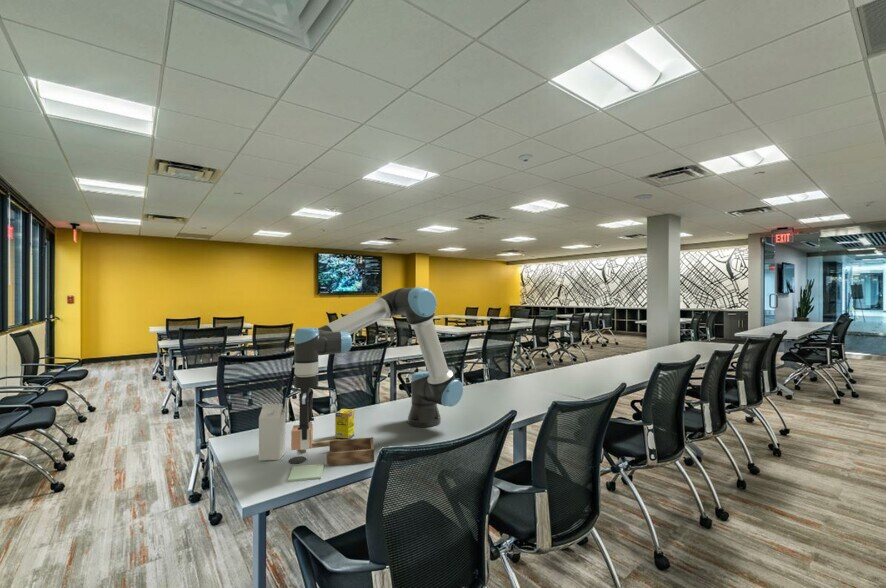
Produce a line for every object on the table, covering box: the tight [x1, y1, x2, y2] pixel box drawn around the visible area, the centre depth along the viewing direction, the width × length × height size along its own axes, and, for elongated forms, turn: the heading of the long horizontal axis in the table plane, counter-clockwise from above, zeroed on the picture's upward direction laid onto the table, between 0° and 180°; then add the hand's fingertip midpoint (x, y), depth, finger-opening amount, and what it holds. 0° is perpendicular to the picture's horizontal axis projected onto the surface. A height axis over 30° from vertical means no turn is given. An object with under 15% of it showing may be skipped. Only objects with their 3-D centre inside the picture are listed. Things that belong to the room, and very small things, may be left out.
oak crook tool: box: [301, 439, 339, 454], centre depth 155 cm, size 14×6×2 cm, turn 110°
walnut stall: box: [326, 436, 375, 466], centre depth 147 cm, size 16×13×4 cm
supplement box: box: [334, 408, 355, 440], centre depth 166 cm, size 6×6×11 cm
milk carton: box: [258, 403, 286, 461], centre depth 147 cm, size 7×7×19 cm
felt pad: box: [287, 463, 325, 482], centre depth 133 cm, size 10×10×1 cm
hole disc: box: [288, 455, 308, 465], centre depth 143 cm, size 6×6×1 cm
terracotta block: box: [290, 423, 314, 451], centre depth 132 cm, size 6×6×6 cm
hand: (306, 445), depth 133 cm, fingers closed on terracotta block, 6 cm apart
